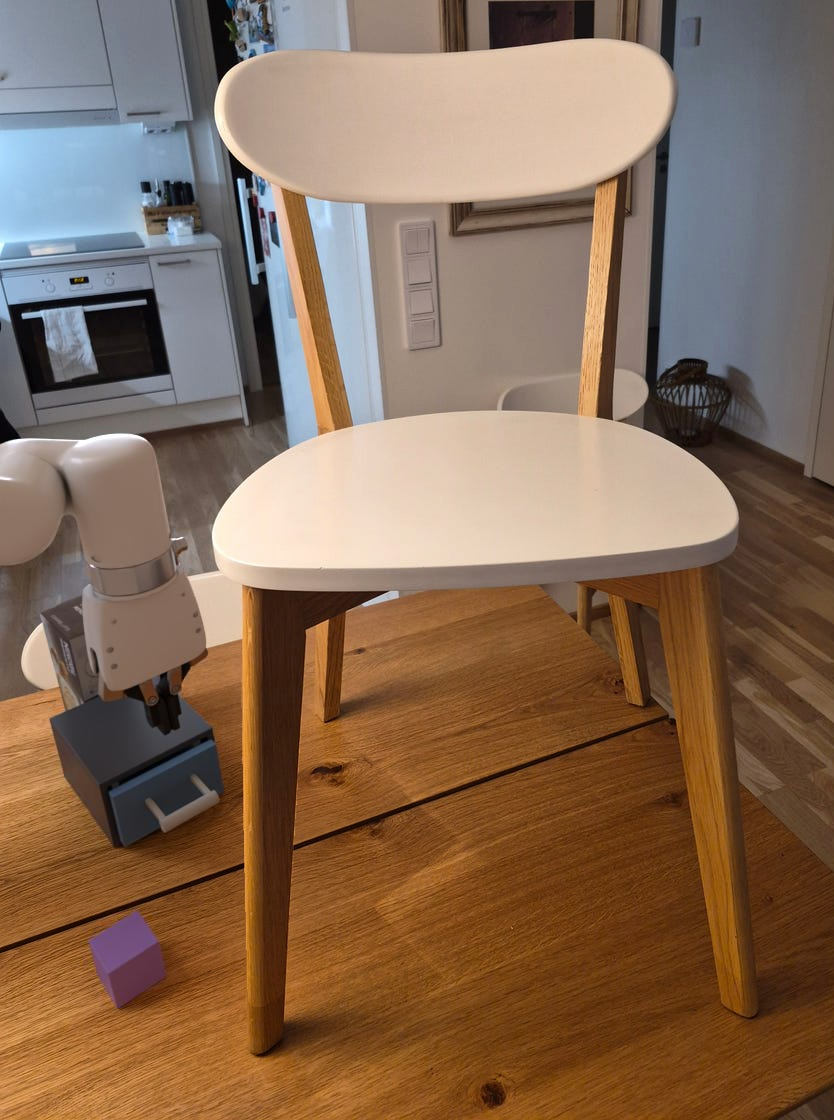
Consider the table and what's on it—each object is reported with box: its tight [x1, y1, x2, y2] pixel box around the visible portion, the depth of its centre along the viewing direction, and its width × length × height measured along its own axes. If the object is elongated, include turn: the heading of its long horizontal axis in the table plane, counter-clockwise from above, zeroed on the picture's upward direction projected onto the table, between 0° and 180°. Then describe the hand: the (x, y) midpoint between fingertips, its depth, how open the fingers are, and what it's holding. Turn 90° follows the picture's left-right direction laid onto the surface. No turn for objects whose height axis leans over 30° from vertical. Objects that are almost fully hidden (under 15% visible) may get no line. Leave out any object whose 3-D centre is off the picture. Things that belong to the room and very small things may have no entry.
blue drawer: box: [108, 739, 225, 848], centre depth 94 cm, size 19×11×7 cm, turn 44°
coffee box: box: [39, 594, 99, 712], centre depth 106 cm, size 9×6×16 cm
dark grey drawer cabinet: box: [49, 676, 216, 848], centre depth 97 cm, size 15×13×9 cm
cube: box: [88, 910, 167, 1010], centre depth 76 cm, size 4×4×4 cm
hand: (166, 725), depth 86 cm, fingers closed
